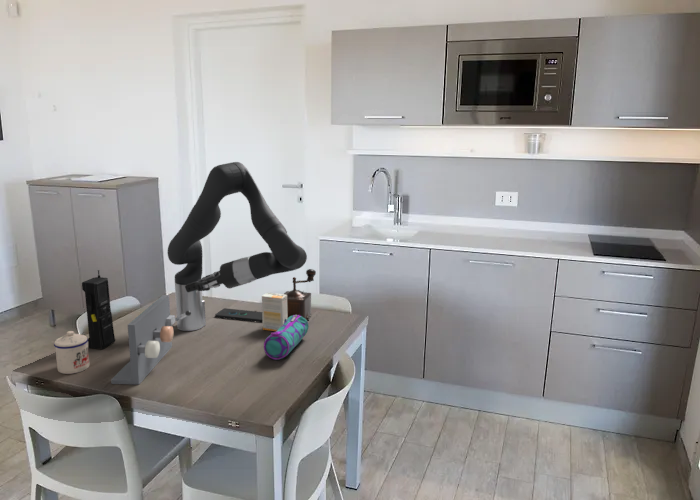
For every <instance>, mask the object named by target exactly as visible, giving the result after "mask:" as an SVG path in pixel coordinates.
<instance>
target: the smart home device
mask: <svg viewBox="0 0 700 500" xmlns="http://www.w3.org/2000/svg"><path fill="white" fill-rule="evenodd" d="M214 316H215V317H214V318H216V317H220V318H219V319H224V318H227V320H234V319H236V321H243V320H244V321H245V322H252V321H256V322H255V323H263V319H262V311H255V310H245V309H237V308H222V309H221V310H220V311H218V312H217V313H215V315H214ZM244 321H243V322H244Z"/></svg>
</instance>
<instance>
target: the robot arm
mask: <svg viewBox="0 0 700 500" xmlns="http://www.w3.org/2000/svg"><path fill="white" fill-rule="evenodd" d="M203 185H204V186H203V189H202V190H201V192H200V195H199V197H198V198H197V200H196V202H195V204H194V205H193V207H192V209H191V210H190V212H189V214H188V216H187V218H186V219H185V221H184V222H183V225H181V227H180V229H179V230H178V232H177V233H176V234H175V235H174V236H173V237H172V239H170V242H169V244H168V247H167V257H168V260H169V261H170V263H172V264H174V265H178V266H180V265H185V266H184V267H183V268H182V269H181V270H179V271H178V272H176V273H175V275H174V289H175V290H174V293H175V294H174V295H175V307H176V308H175V309H176V317H178V316H180V315H182V314H184V313H185V312H186V311H188V310H189V311H191V315H190V316H186V317H184V318H182V319H180V320H179V321H176V326H177V329H178V330H179V331H184V332H188V331H189V332H190V331H197V330H200V329H201V328H203V327H204V326H206V325H207V324H206V323H207V322H206V320H207V319H206V303H205V300H204V299H203V292H205V291H207V292H208V291H210V290H211V289H213V288H215V289H216V288H219V287H221V285H224V286H225V288H227V289H233V288H237V287H240V286H243V285H247V284H250V283H252V282H255V281H257V280H261V279H263V278H267V277H269V276H271V275H276V274H282V273H287V272H293V271H297V270H298V269H300V268H302V267H304V265H305V263H306V262H307V259H308V257H307V256H308V255H307V252H306V251H305V249H304V248H303V247H302V246H300V245H298V244H296V243H295V242H294V240H293V239H292V238H291V237H290V236H289V234H288V231H287V229H286V227H285V226H284V225H283V224H282V222H281V221H280V220H279V218H278V217H277V216H276V215H275V213H274V212H273V211H272V209H271V208H270V206H269V204H268V203H267V201H266V200H265V197H264V195H263V194H262V192H261V191H260V189H259V187H258V185H257V183H256V182H255V179H254V177H253V176H252V174H251V173H250V171H249V169H248V168H247V167H246V166H245V165H244V164H243V163H241V162H239V161H234V162H228V163H227V162H226V163H223V164H218V165H216V166H214V167H213V168H212V169H211V170H210V171H209V173H208V175H207V178H206V181H205V183H204V184H203ZM239 193H240V194H242V195H243V196H244V197H245V198H246V200H247V201H248V203H249V209H250V210H249V211H250V219H251V223H252V225H253V227H254V229H255V230H256V232H257V233H258V234H259V235H260V237H261V239H263V241H264V242H265V243H266V244H267V246H268V248H269V250H270V252H268V251H265V252H260V253H257V254H253V255H250V256H245V257H241V258H237V259H234V260H231V261H228V262H224V263H222V264H221V265H220V266H219V270H217V271H214V272H213V273H211V274H208V275H205V276H203V246H202V243H201V240H203V239H204V238H205V237H207V236H208V235H210V234H211V233H212V232H213V231H214V230H215V228H216V227H217V225H218V224H219V222H220V220H221V217H222V212H221V211H222V210H221V207H220V203H221V201H222V200H223V198H225V197H227V196H230V195H233V194H239ZM202 276H203V277H202Z"/></svg>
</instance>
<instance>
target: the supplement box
mask: <svg viewBox="0 0 700 500" xmlns="http://www.w3.org/2000/svg"><path fill="white" fill-rule="evenodd" d="M261 312H262V319H263V322H262V331H268V332H269V331H271V332H276V331H277V330H278V329H279V328H280V327H281V326H283V324H284V320H285V319H286V320H287V318H288V313H287V295H284V293H283V294H282V293H275V292H266V293H264V294H262V295H261Z"/></svg>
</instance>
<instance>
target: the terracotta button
mask: <svg viewBox="0 0 700 500" xmlns="http://www.w3.org/2000/svg"><path fill="white" fill-rule="evenodd" d="M174 334H175V333H174V327H173V325H172V326H163V327H162V328H161V330H154V331H153V338H160V340H161V342H171V341H172V342H173V338H174Z"/></svg>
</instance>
